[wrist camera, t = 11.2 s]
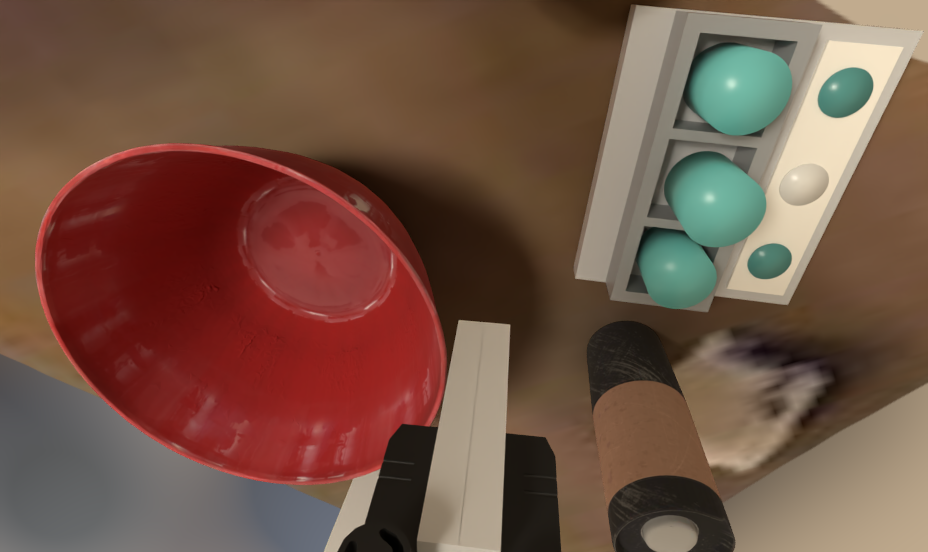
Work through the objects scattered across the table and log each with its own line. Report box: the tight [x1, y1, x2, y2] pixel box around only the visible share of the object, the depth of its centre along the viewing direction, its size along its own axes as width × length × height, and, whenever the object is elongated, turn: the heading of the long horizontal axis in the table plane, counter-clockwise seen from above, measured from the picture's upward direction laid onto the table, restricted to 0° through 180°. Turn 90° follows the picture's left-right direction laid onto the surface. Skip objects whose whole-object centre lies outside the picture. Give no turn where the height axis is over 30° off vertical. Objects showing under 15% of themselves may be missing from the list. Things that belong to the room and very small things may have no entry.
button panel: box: [574, 4, 924, 312], centre depth 37 cm, size 21×18×5 cm
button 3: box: [635, 227, 717, 309], centre depth 38 cm, size 5×5×5 cm
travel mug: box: [587, 321, 735, 552], centre depth 40 cm, size 8×8×20 cm
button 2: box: [664, 151, 766, 247], centre depth 33 cm, size 5×5×5 cm
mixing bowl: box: [35, 143, 447, 485], centre depth 40 cm, size 28×28×16 cm
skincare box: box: [324, 469, 380, 552], centre depth 54 cm, size 8×7×16 cm
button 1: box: [683, 42, 792, 136], centre depth 31 cm, size 5×5×5 cm
